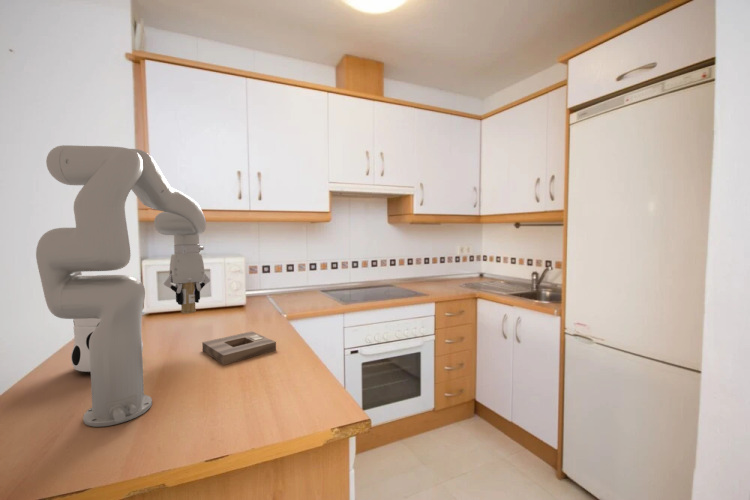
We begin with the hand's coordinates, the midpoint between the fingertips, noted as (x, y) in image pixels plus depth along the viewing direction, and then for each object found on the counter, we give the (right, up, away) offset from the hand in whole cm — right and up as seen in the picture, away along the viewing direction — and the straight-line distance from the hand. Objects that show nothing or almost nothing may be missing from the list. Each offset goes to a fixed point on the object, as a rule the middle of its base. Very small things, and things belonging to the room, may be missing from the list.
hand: (188, 302), depth 117 cm
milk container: (-18, -18, -12) cm, 28 cm away
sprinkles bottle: (0, -4, 0) cm, 4 cm away
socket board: (+17, -17, +2) cm, 24 cm away
